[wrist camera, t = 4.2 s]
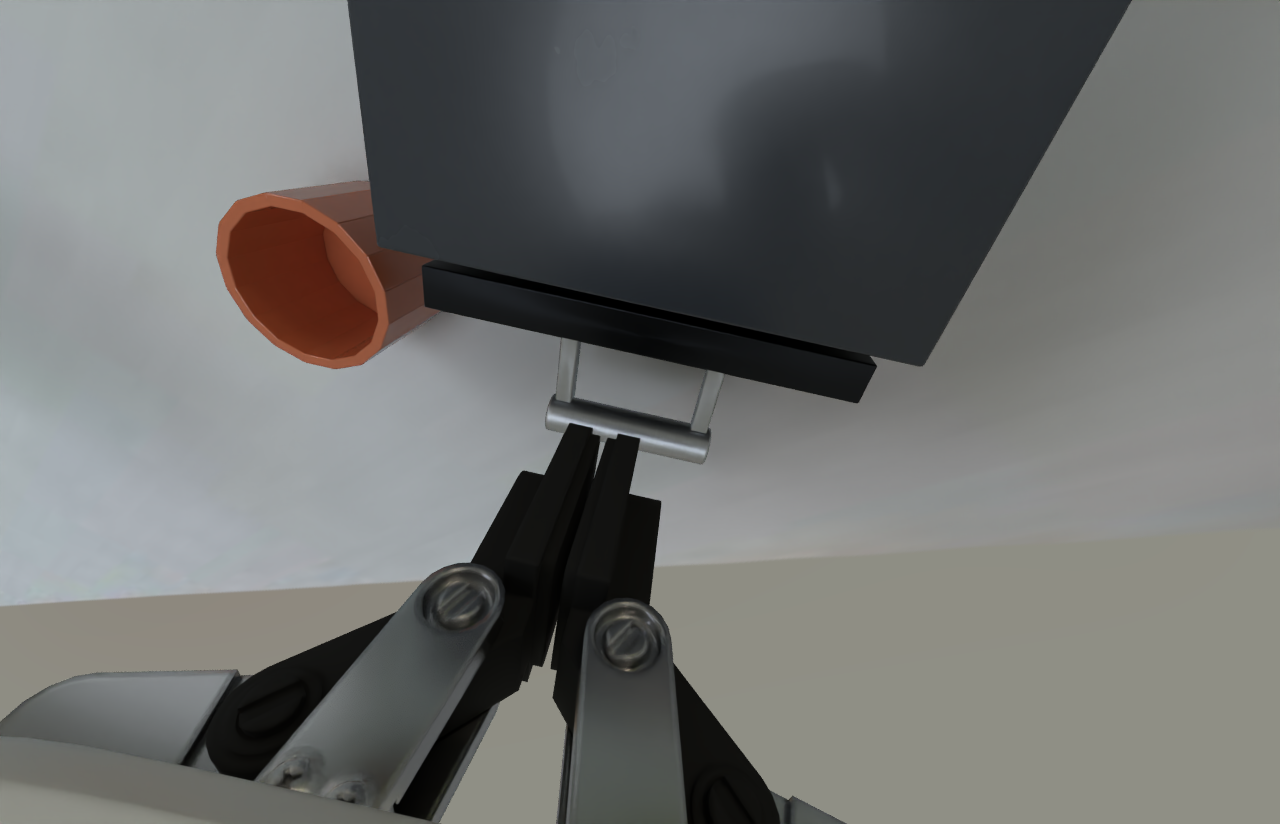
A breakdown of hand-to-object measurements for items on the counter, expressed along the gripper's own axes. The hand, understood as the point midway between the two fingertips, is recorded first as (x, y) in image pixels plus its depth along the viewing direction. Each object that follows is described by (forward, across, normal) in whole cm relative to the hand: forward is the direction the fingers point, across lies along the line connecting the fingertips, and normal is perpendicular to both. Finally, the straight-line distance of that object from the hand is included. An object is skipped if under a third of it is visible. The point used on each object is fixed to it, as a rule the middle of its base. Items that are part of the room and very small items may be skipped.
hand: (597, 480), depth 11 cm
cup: (+11, +12, 0) cm, 16 cm away
